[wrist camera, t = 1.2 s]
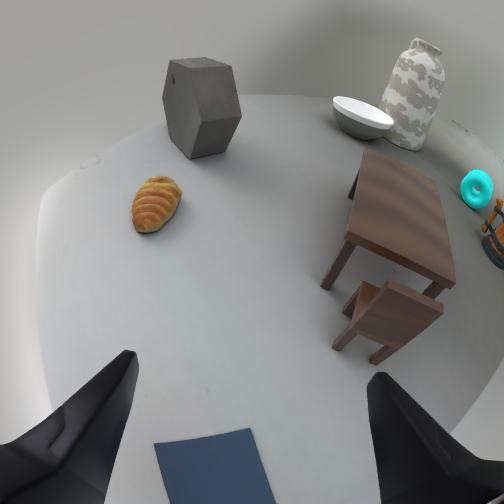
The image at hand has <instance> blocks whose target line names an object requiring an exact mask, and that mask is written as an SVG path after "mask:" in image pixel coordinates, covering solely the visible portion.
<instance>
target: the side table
mask: <svg viewBox="0 0 504 504" xmlns="http://www.w3.org/2000/svg"><path fill="white" fill-rule="evenodd" d="M348 197H349V198H351V199H353V203H352V207H351V211H350V216H349V220H348V224H347V227H346V231H345V235H344V239H345V240H344V242H343V244H342V246H341V248H340V250H339V251H338V253H337V255H336V257H335V259H334V261H333V262H332V264H331V266H330V268H329V270H328V271H327V273H326V275H325V277H324V279H323V281H322V283H321V287H322V288H324V289H327V290H330V288H331V286H332V285H333V283H334V282H335V280H336V278H337V277H338V275H339V274H340V272H341V270H342V269H343V267H344V265H345V264H346V262H347V260H348V259H349V257H350V255H351V253H352V252H353V250H354V248H355V247H356V245H359V246H361V247H363V248H366V249H368V250H370V251H372V252H374V253H377V254H379V255H381V256H383V257H385V258H387V259H389V260H391V261H394V262H396V263H398V264H400V265H402V266H404V267H406V268H408V269H410V270H412V271H414V272H416V273H418V274H420V275H422V276H424V277H426V278H428V279H430V280H432V281H433V282H432V283H431V284H430V285H429V287H428V288H427V289H426V290H425V291H424V292H423V293H422V294H423V295H425V296H427V297H429V298H431V299H433V300H434V299H435V298H436V297H437V296H438V295H439V294H440V293H441V292H442V291H443V290H444V289H445V288H448V289H451V288H452V287H453V286H454V285H455V284H456V280H455V272H454V265H453V258H452V252H451V246H450V241H449V235H448V230H447V226H446V221H445V217H444V213H443V208H442V204H441V201H440V197H439V193H438V190H437V186H436V183H435V181H433V180H431V179H430V178H428V177H426V176H424V175H422V174H420V173H419V172H417V171H415V170H413V169H411V168H409V167H407V166H405V165H403V164H401V163H399V162H397V161H395V160H393V159H391V158H389V157H387V156H385V155H382V154H380V153H378V152H376V151H374V150H371V149H369V148H367V147H365V149H364V152H363V157H362V162H361V166H360V168H359V171H358V173H357V175H356V178H355V180H354V182H353V185H352V187H351V189H350V192H349V194H348Z"/></svg>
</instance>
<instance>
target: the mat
mask: <svg viewBox="0 0 504 504" xmlns="http://www.w3.org/2000/svg"><path fill="white" fill-rule="evenodd" d="M154 446H155V451H156V455H157V459H158V463H159V466H160V470H161V474H162V477H163V481H164V484H165V488H166V491H167V494H168V497H169V500H170V503H171V504H276V503H275V500H274V497H273V494H272V492H271V489H270V486H269V483H268V480H267V477H266V475H265V472H264V469H263V466H262V463H261V460H260V457H259V454H258V451H257V448H256V444H255V441H254V438H253V435H252V432H251V429H250V428H248V429H243V430H239V431H235V432H230V433H225V434H220V435H215V436H209V437H204V438H198V439H191V440H184V441H176V442H168V443H158V444H154Z"/></svg>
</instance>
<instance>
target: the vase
mask: <svg viewBox="0 0 504 504" xmlns="http://www.w3.org/2000/svg"><path fill="white" fill-rule="evenodd" d="M416 44H417V46H416V48H415V45H416ZM414 48H415V49H414ZM442 53H443V52H442V51H441V50H440V49H438V48H436V47H435V46H433V45H431V44H429V43H427V42H425V41H423V40H422V39H420V38H415V39H414V40H413V41H412V42H411V44H410V47H409V50H407V51H405V52H404V53H402V54H401V55H400V57H399V58H398V60H397V63H396V65H395V67H394V70H393V72H392V75H391V78H390V80H389V82H388V85H387V87H386V90H385V92H384V95H383V97H382V100H381V102H380V105H379V108H378V109H379V110H381V111H382V112H384V113H385V114H387V115H388V116H389V117H391V118H392V119H393V121H394V124H393V125H392V126H391V127H390V128H389V130H388V132H387V133H386V134H385V135H384V136H382V137H384V138H385V139H387V140H388V141H390V142H392V143H394V144H396V145H398V146H400V147H402V148H405V149H407V150H411V151H418V150H419V149H420V148H421V146H422V144H423V141H424V139H425V137H426V135H427V132H428V130H429V127H430V125H431V122H432V119H433V117H434V114H435V111H436V108H437V105H438V102H439V99H440V96H441V93H442V90H443V86H444V82H445V73H444V70H443V68H442V66H441V64H440V63H439V60H438V59H439V56H440V55H441V54H442Z"/></svg>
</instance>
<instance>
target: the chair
mask: <svg viewBox="0 0 504 504" xmlns="http://www.w3.org/2000/svg"><path fill="white" fill-rule="evenodd" d="M353 311H354V313H353V317H352V321H351V323H350V325H349V326H348V327H347V328H346V329H345V330H344V331H343V332H342V333H341V334H340V335H339V336H338V337H337V339H336V340H335V341H334V343H333V346H332V348H333V349H335V350H338V351H340V350H341V349H342V348H343V347H345V346H346V345H347V344H348V343H349V342H350V341H351V340H352V339H353V338H354V337H355V336H356V335H357V334H359V335H361V336H364V337H366V338H369V339H371V340H374V341H376V342H379V343H381V344H384V345H385V346H384V347H382V348H381V349H380V350H378V351H377V352H376V353H375V354H373V355H372V356H371V360H370V363H371V364H374V365H378V364H379V363H381V362H382V361H384V360H385V359H387V358H388V357H389V356H391V355H392V354H394V353H395V352H396V351H398V350H399V349H400V348H402V347H403V346H404V345H406V344H407V343H408V342H410V341H411V340H412V339H413V338H415V337H416V336H417V335H418V334H420V333H421V332H422V331H423V330H425V329H426V328H427V327H428V326H429V325H431V324H432V323H433V322H434V321H435V320H436V319H438V318H439V317H440V316H441V315H442V314H443V313H444V309H443V304H442V303H440V302H438V301H435V300H433V299H431V298H429V297H427V296H425V295H423V294H421V293H419V292H417V291H415V290H412V289H410V288H408V287H406V286H404V285H402V284H400V283H397V282H395V281H393V280H391V279H388V280H387V281H386V283H385V284H384V285H383V286H382V287H381V289H380V288H378V287H376V286H374V285H371V284H369V283H367V282H365V281H363V282H362V283H361V285H360V286H359V287H358V289H357V290H356V291H355V293H354V294H353V295H352V297H351V298H350V299H349V301H348V302H347V303H346V305H345V306H344V308H343V312H342V313H343V314H346V315H348V316H349V315H350V314H351V313H352V312H353Z"/></svg>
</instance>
